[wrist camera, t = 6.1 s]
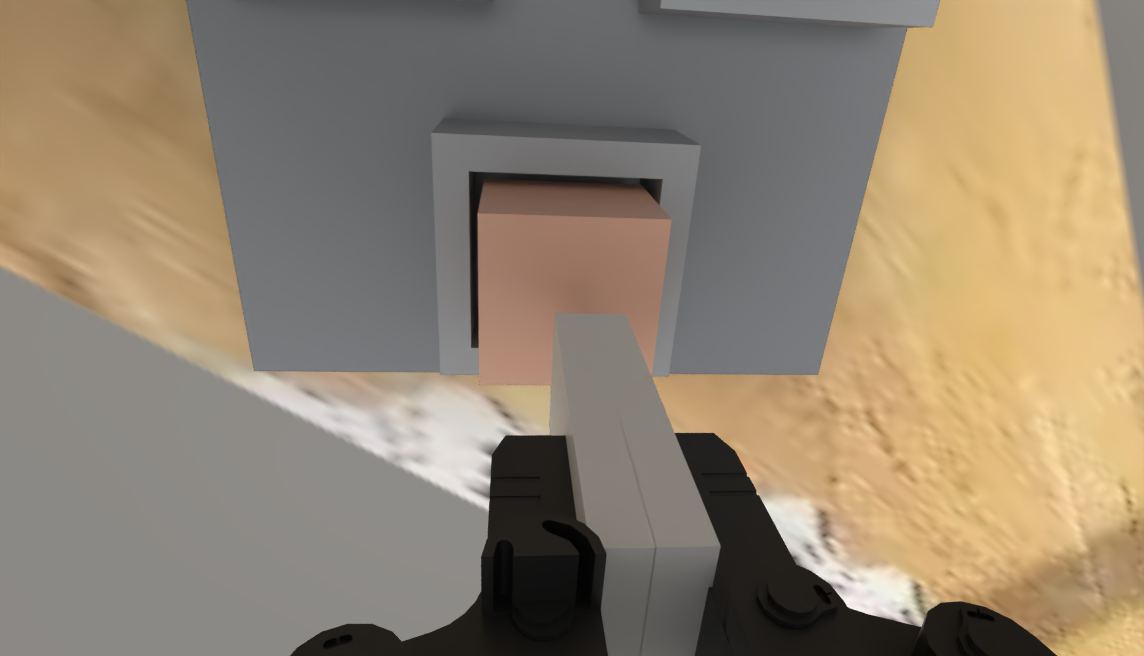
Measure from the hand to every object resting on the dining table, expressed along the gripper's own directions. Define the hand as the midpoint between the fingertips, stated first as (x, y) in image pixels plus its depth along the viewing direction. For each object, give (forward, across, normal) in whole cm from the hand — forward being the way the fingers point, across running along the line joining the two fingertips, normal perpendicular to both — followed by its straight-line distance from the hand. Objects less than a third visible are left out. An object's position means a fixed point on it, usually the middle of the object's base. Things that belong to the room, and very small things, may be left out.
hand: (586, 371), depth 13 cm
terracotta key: (+7, 0, 0) cm, 7 cm away
